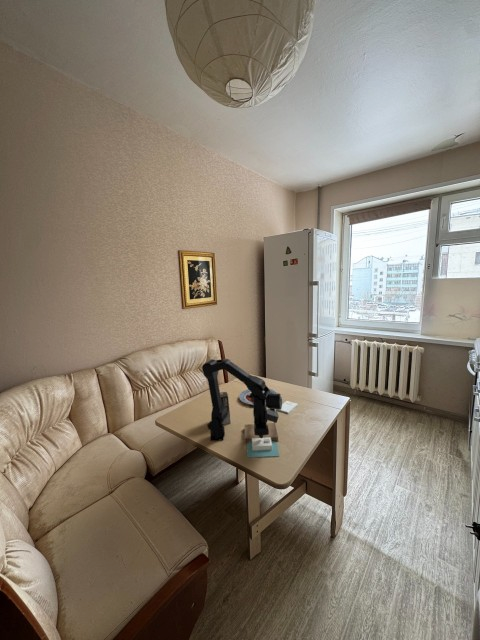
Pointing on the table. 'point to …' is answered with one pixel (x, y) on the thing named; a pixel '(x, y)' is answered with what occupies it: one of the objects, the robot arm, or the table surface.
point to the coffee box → (226, 404)
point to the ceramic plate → (245, 399)
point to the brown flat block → (250, 434)
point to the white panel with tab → (261, 443)
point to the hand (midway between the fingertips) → (261, 437)
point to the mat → (262, 451)
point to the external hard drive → (288, 407)
